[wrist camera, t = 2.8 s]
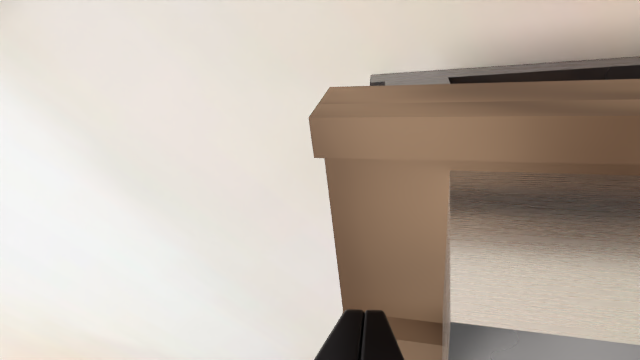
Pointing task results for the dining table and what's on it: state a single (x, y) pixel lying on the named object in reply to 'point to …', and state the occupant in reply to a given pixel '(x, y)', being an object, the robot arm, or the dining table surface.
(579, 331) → the rider
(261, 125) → the dining table surface
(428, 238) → the beam
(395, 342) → the robot arm
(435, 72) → the stand
